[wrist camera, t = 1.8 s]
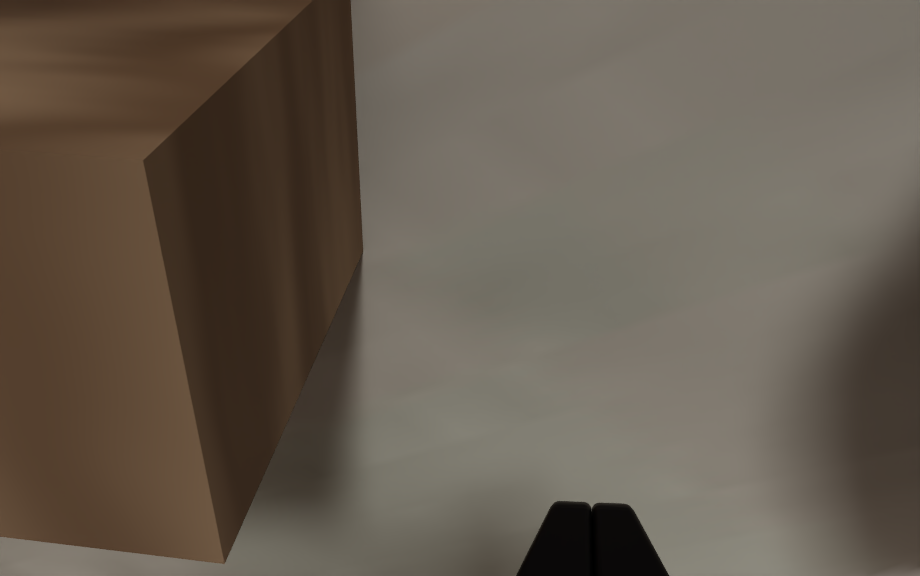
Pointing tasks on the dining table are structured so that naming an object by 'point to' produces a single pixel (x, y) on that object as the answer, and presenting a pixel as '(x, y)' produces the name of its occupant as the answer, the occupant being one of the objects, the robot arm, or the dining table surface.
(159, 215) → the wooden block
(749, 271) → the dining table surface
